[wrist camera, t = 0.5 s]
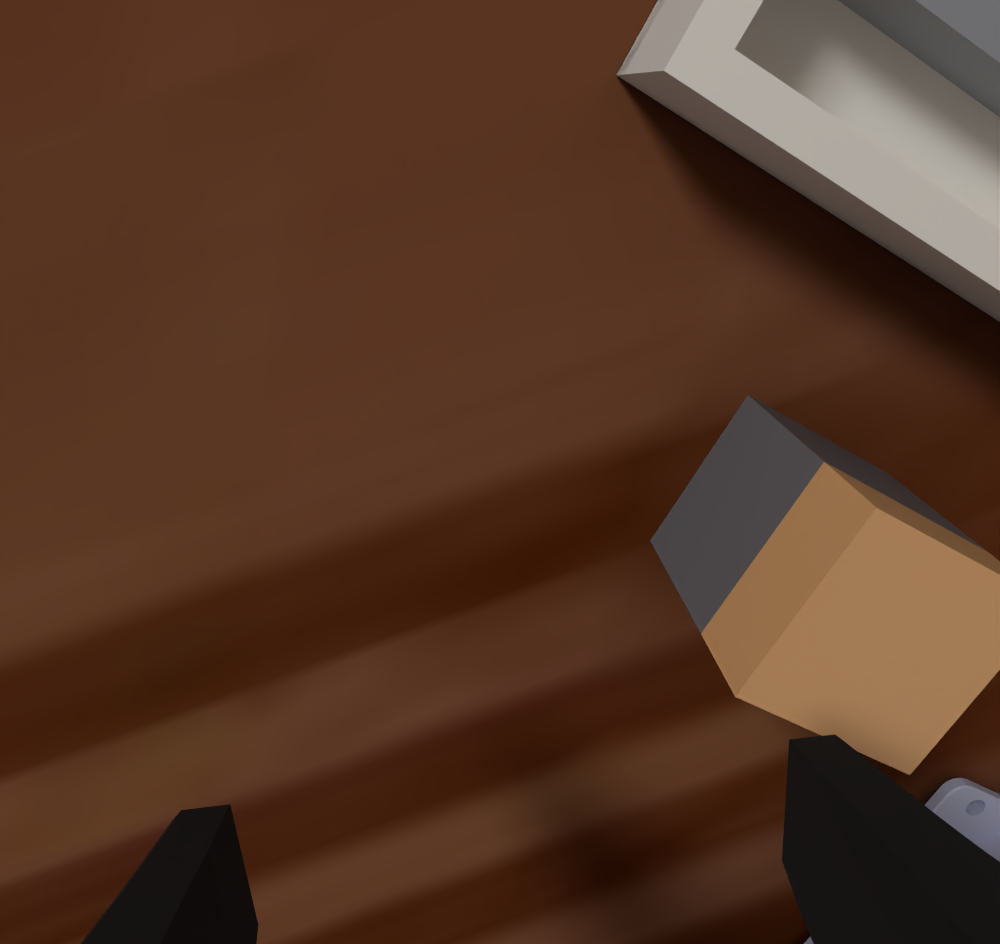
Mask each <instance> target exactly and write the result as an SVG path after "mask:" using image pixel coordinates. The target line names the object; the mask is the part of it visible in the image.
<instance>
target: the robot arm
mask: <svg viewBox="0 0 1000 944" xmlns="http://www.w3.org/2000/svg"><path fill="white" fill-rule="evenodd" d="M972 801H973V802H972ZM971 802H972V803H971ZM970 803H971V804H970ZM782 861H783V864H784V867H785V870H786V872H787V875H788V878H789V881H790V884H791V886H792V889H793V892H794V895H795V898H796V900H797V903H798V906H799V908H800V911H801V914H802V916H803V919H804V922H805V924H806V927H807V929H808V932H809V935H810V937H809V938H808V940H807V941H806V942H805V943H804V944H1000V794H998V793H996V792H994V791H992V790H989V789H987V788H985V787H983V786H981V785H978V784H976V783H974V782H972V781H970V780H968V779H964V778H954V779H951V780H948V781H946V782H945V783H944V784H943V785H941V787H940V788H939V789H938V790H937V791H936V792H935V794H934V795H933V796H932V797H931V798H930V799H929V800H928V802H927V803H926V804H925V805H923V804H922V803H921V802H920V801H918V800H917V799H916V798H915V797H913V796H912V795H911V794H910V793H908V792H907V791H906V790H904V789H903V788H902V787H901V786H899V785H898V784H897V783H896V782H894V781H893V780H892V779H891V778H889V777H888V776H887V775H886V774H884V773H883V772H882V771H881V770H879V769H878V768H877V767H876V766H875V765H873V764H872V763H871V762H870V761H868V760H867V759H866V758H865V757H863V756H862V755H861V754H860V753H858V752H857V751H856V750H855V749H853V748H852V747H851V746H850V745H848V744H847V743H846V742H845V741H843V740H842V739H841V738H839V737H838V736H837V735H835V734H834V735H825V736H817V737H808V738H799V739H791V740H789V755H788V771H787V788H786V804H785V821H784V838H783V854H782ZM257 931H258V922H257V918H256V913H255V909H254V905H253V900H252V896H251V892H250V888H249V883H248V879H247V875H246V871H245V866H244V862H243V858H242V853H241V849H240V845H239V841H238V836H237V832H236V828H235V824H234V819H233V815H232V811H231V806H230V805H222V806H214V807H205V808H196V809H188V810H181V811H180V812H179V814H178V815H177V816H176V817H175V818H174V819H173V821H172V822H171V823H170V825H169V826H168V827H167V829H166V830H165V831H164V833H163V834H162V836H161V837H160V838H159V840H158V841H157V842H156V844H155V845H154V847H153V848H152V849H151V851H150V852H149V854H148V855H147V856H146V858H145V859H144V860H143V862H142V863H141V865H140V866H139V867H138V869H137V870H136V871H135V873H134V874H133V875H132V877H131V878H130V880H129V881H128V882H127V884H126V885H125V886H124V888H123V889H122V890H121V892H120V893H119V894H118V896H117V897H116V898H115V900H114V901H113V902H112V904H111V905H110V906H109V908H108V909H107V910H106V911H105V913H104V914H103V915H102V917H101V918H100V919H99V921H98V922H97V923H96V924H95V926H94V927H93V928H92V930H91V931H90V932H89V933H88V935H87V936H86V937H85V939H84V940H83V941H82V942H81V944H256V941H257Z"/></svg>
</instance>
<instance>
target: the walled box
mask: <svg viewBox="0 0 1000 944" xmlns="http://www.w3.org/2000/svg"><path fill="white" fill-rule="evenodd" d="M617 76H618V77H620V78H622V79H623V80H625V81H626V82H628V83H629V84H631V85H632V86H634V87H635V88H637V89H639V90H640V91H642V92H643V93H645V94H646V95H648V96H649V97H651V98H653V99H654V100H656V101H657V102H659V103H660V104H662V105H663V106H665V107H667V108H668V109H670V110H671V111H673V112H674V113H676V114H677V115H679V116H681V117H682V118H684V119H685V120H687V121H688V122H690V123H691V124H693V125H695V126H696V127H698V128H699V129H701V130H702V131H704V132H705V133H707V134H708V135H710V136H712V137H713V138H715V139H716V140H718V141H719V142H721V143H722V144H724V145H726V146H727V147H729V148H730V149H732V150H733V151H735V152H736V153H738V154H740V155H741V156H743V157H744V158H746V159H747V160H749V161H750V162H752V163H754V164H755V165H757V166H758V167H760V168H761V169H763V170H764V171H766V172H768V173H769V174H771V175H772V176H774V177H775V178H777V179H778V180H780V181H782V182H783V183H785V184H786V185H788V186H789V187H791V188H792V189H794V190H795V191H797V192H799V193H800V194H802V195H803V196H805V197H806V198H808V199H809V200H811V201H813V202H814V203H816V204H817V205H819V206H820V207H822V208H823V209H825V210H827V211H828V212H830V213H831V214H833V215H834V216H836V217H837V218H839V219H841V220H842V221H844V222H845V223H847V224H848V225H850V226H851V227H853V228H855V229H856V230H858V231H859V232H861V233H862V234H864V235H865V236H867V237H869V238H870V239H872V240H873V241H875V242H876V243H878V244H879V245H881V246H882V247H884V248H886V249H887V250H889V251H890V252H892V253H893V254H895V255H896V256H898V257H900V258H901V259H903V260H904V261H906V262H907V263H909V264H910V265H912V266H914V267H915V268H917V269H918V270H920V271H921V272H923V273H924V274H926V275H928V276H929V277H931V278H932V279H934V280H935V281H937V282H938V283H940V284H942V285H943V286H945V287H946V288H948V289H949V290H951V291H952V292H954V293H956V294H957V295H959V296H960V297H962V298H963V299H965V300H966V301H968V302H969V303H971V304H973V305H974V306H976V307H977V308H979V309H980V310H982V311H983V312H985V313H987V314H988V315H990V316H991V317H993V318H994V319H996V320H997V321H999V322H1000V0H658V1H657V3H656V5H655V7H654V8H653V10H652V12H651V14H650V16H649V17H648V19H647V21H646V23H645V25H644V26H643V28H642V30H641V32H640V34H639V35H638V37H637V39H636V41H635V43H634V44H633V46H632V48H631V50H630V52H629V53H628V55H627V57H626V59H625V61H624V62H623V64H622V66H621V68H620V70H619V71H618V73H617Z"/></svg>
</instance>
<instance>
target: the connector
mask: <svg viewBox="0 0 1000 944" xmlns="http://www.w3.org/2000/svg"><path fill="white" fill-rule="evenodd" d="M651 543H652V545H653V547H654V549H655V550H656V552H657V554H658V556H659V558H660V560H661V561H662V563H663V565H664V567H665V569H666V571H667V572H668V574H669V576H670V578H671V580H672V582H673V583H674V585H675V587H676V589H677V591H678V593H679V594H680V596H681V598H682V600H683V602H684V604H685V605H686V607H687V609H688V611H689V613H690V615H691V616H692V618H693V620H694V622H695V624H696V626H697V627H698V629H699V631H700V633H701V635H702V637H703V638H704V640H705V642H706V644H707V646H708V648H709V649H710V651H711V653H712V655H713V657H714V659H715V660H716V662H717V664H718V666H719V668H720V670H721V671H722V673H723V675H724V677H725V679H726V681H727V682H728V684H729V686H730V688H731V690H732V692H733V693H734V695H735V697H737V698H739V699H741V700H744V701H746V702H748V703H750V704H753V705H755V706H757V707H759V708H761V709H764V710H766V711H768V712H770V713H773V714H775V715H777V716H779V717H782V718H784V719H786V720H788V721H790V722H793V723H795V724H797V725H799V726H802V727H804V728H806V729H808V730H810V731H813V732H815V733H817V734H819V735H822V736H825V735H834V734H835V735H837V736H838V737H839V738H841V739H842V740H843V741H845V742H846V743H847V744H848V745H850V746H851V747H852V748H853V749H855V750H856V751H857V752H859V753H862V754H864V755H866V756H868V757H871V758H873V759H875V760H877V761H879V762H882V763H884V764H886V765H888V766H891V767H893V768H895V769H897V770H900V771H902V772H904V773H906V774H908V775H910V774H911V773H912V772H913V771H914V770H915V769H916V767H917V766H918V765H919V764H920V763H921V761H922V760H923V759H924V758H925V757H926V756H927V754H928V753H929V752H930V751H931V750H932V749H933V747H934V746H935V745H936V744H937V743H938V742H939V740H940V739H941V738H942V737H943V736H944V734H945V733H946V732H947V731H948V730H949V729H950V727H951V726H952V725H953V724H954V723H955V722H956V720H957V719H958V718H959V717H960V716H961V714H962V713H963V712H964V711H965V710H966V709H967V707H968V706H969V705H970V704H971V703H972V702H973V700H974V699H975V698H976V697H977V696H978V694H979V693H980V692H981V691H982V690H983V689H984V687H985V686H986V685H987V684H988V683H989V682H990V680H991V679H992V678H993V677H994V676H995V674H996V673H997V672H998V671H999V670H1000V561H999V560H997V559H996V558H995V557H993V556H992V555H991V554H990V553H988V552H987V551H986V550H985V549H983V548H982V547H981V546H979V545H978V544H977V543H976V542H974V541H973V540H972V539H971V538H969V537H968V536H967V535H965V534H964V533H963V532H962V531H960V530H959V529H958V528H957V527H955V526H954V525H953V524H951V523H950V522H949V521H948V520H946V519H945V518H944V517H943V516H941V515H940V514H939V513H937V512H936V511H935V510H934V509H932V508H931V507H930V506H929V505H927V504H926V503H925V502H923V501H922V500H921V499H920V498H918V497H917V496H916V495H915V494H913V493H912V492H911V491H909V490H908V489H907V488H906V487H904V486H903V485H902V484H901V483H899V482H898V481H897V480H895V479H894V478H893V477H892V476H890V475H889V474H888V473H887V472H885V471H883V470H881V469H880V468H878V467H876V466H874V465H872V464H871V463H869V462H867V461H865V460H864V459H862V458H860V457H858V456H856V455H855V454H853V453H851V452H849V451H847V450H846V449H844V448H842V447H840V446H838V445H837V444H835V443H833V442H831V441H830V440H828V439H826V438H824V437H822V436H821V435H819V434H817V433H815V432H813V431H812V430H810V429H808V428H806V427H805V426H803V425H801V424H799V423H797V422H796V421H794V420H792V419H790V418H788V417H787V416H785V415H783V414H781V413H780V412H778V411H776V410H774V409H772V408H771V407H769V406H767V405H765V404H763V403H762V402H760V401H758V400H756V399H755V398H753V397H751V396H749V395H748V396H747V397H746V399H745V400H744V402H743V403H742V405H741V406H740V408H739V409H738V411H737V412H736V414H735V415H734V417H733V418H732V420H731V421H730V423H729V424H728V426H727V427H726V429H725V430H724V432H723V433H722V435H721V436H720V438H719V439H718V441H717V442H716V444H715V445H714V447H713V448H712V450H711V451H710V453H709V454H708V456H707V457H706V458H705V460H704V461H703V463H702V464H701V466H700V467H699V469H698V470H697V472H696V473H695V475H694V476H693V478H692V479H691V481H690V482H689V484H688V485H687V487H686V488H685V490H684V491H683V493H682V494H681V496H680V497H679V499H678V500H677V502H676V503H675V505H674V506H673V508H672V509H671V511H670V512H669V514H668V515H667V517H666V518H665V520H664V521H663V523H662V524H661V526H660V527H659V529H658V530H657V532H656V533H655V535H654V536H653V538H652V539H651Z"/></svg>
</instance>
